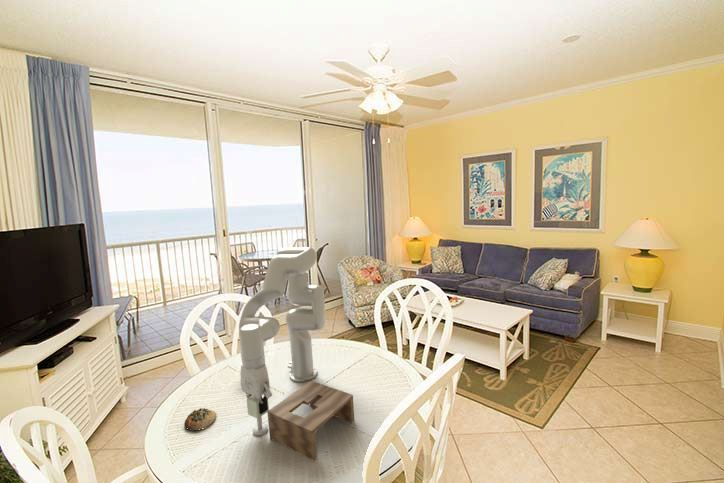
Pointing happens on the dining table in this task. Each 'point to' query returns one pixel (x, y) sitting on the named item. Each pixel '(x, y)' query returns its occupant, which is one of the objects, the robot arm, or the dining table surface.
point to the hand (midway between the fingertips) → (258, 408)
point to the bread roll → (200, 419)
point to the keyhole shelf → (308, 416)
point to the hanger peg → (256, 415)
